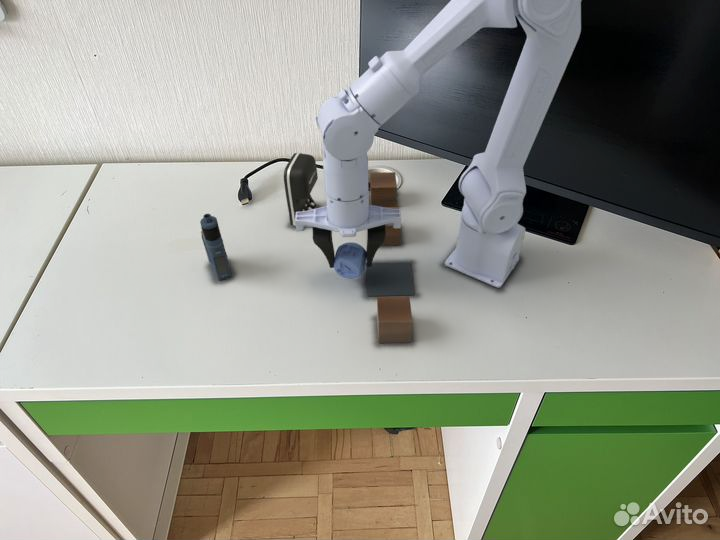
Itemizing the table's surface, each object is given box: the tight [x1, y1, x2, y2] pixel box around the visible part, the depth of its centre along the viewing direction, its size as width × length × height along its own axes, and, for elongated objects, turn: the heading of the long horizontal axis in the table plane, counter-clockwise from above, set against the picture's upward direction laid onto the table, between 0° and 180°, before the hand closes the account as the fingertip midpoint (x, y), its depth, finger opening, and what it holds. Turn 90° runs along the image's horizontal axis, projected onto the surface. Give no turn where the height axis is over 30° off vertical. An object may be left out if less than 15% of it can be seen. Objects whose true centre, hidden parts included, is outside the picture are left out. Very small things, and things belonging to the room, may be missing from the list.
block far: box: [369, 171, 398, 207], centre depth 95 cm, size 4×4×4 cm
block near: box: [376, 296, 413, 344], centre depth 73 cm, size 4×4×4 cm
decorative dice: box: [333, 241, 367, 280], centre depth 79 cm, size 4×4×4 cm
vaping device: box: [199, 213, 233, 281], centre depth 80 cm, size 3×5×12 cm, turn 28°
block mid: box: [380, 206, 402, 247], centre depth 88 cm, size 4×4×4 cm
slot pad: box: [365, 261, 415, 298], centre depth 82 cm, size 7×7×1 cm
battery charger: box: [283, 152, 319, 227], centre depth 89 cm, size 7×4×11 cm, turn 166°
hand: (350, 262), depth 79 cm, fingers closed on decorative dice, 5 cm apart
